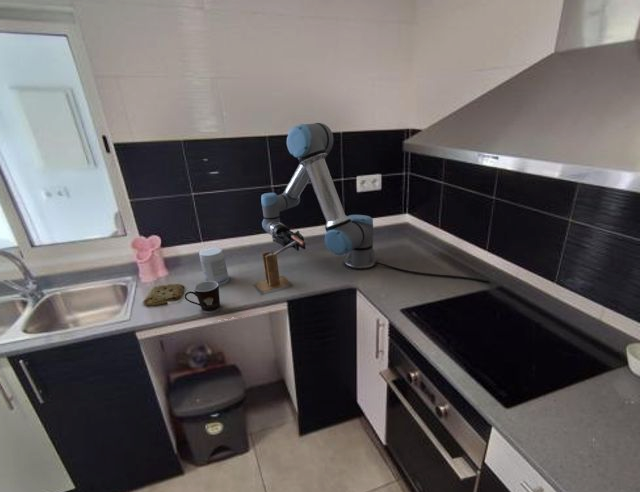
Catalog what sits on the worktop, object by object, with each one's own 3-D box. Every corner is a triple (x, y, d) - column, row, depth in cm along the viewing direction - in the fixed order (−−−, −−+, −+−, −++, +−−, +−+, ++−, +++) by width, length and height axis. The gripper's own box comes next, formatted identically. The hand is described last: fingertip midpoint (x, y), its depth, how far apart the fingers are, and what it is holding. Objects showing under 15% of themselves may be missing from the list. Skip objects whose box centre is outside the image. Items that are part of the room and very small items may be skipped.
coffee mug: (226, 304, 148) (222, 281, 143) (217, 315, 141) (212, 292, 136) (198, 303, 149) (192, 280, 144) (187, 314, 142) (181, 290, 137)
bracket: (283, 278, 169) (279, 246, 162) (292, 286, 161) (288, 254, 154) (254, 285, 163) (249, 252, 156) (262, 294, 155) (257, 260, 148)
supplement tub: (231, 277, 169) (225, 246, 162) (226, 287, 161) (219, 255, 154) (209, 278, 169) (203, 247, 162) (203, 288, 161) (195, 255, 154)
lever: (295, 238, 165) (293, 233, 163) (306, 245, 156) (304, 240, 155) (263, 257, 160) (260, 252, 159) (273, 266, 152) (270, 261, 150)
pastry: (172, 283, 165) (170, 277, 163) (197, 294, 156) (195, 287, 154) (133, 299, 152) (130, 293, 151) (157, 312, 143) (155, 305, 142)
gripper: (295, 236, 183) (318, 251, 165) (265, 242, 176) (285, 259, 158) (294, 221, 179) (316, 235, 161) (263, 227, 172) (283, 241, 154)
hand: (301, 246), depth 160 cm, fingers open, 2 cm apart
